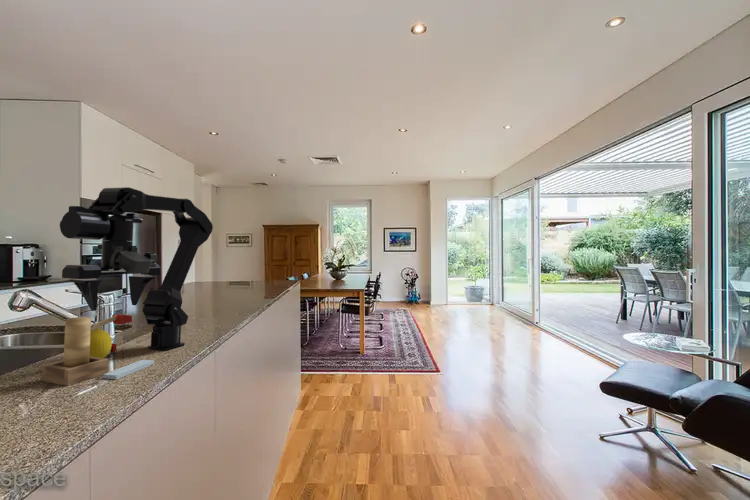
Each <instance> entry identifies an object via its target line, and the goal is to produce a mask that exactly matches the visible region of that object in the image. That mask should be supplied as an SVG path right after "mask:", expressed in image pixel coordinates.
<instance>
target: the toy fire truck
mask: <svg viewBox="0 0 750 500" xmlns="http://www.w3.org/2000/svg"><path fill="white" fill-rule="evenodd" d="M112 322H113V324H116V325H117V324H118V325H125V324H129V323H132V322H133V316H132V315H129V314H120V313H119V314H118V313H114V314H112V316H111V317H108V318H105V319H102V320H100V321H98V322H94V323H91V330H90V332H92V331H94V330H95V329H100V330H103V331H105V330H104V328H103V326H105V325H107V324H111V323H112ZM116 352H117V343H112V347H111V350H110V352H109V354H108V355H107V356H110V355H111V354H112V353H116Z"/></svg>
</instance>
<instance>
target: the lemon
mask: <svg viewBox="0 0 750 500" xmlns="http://www.w3.org/2000/svg"><path fill="white" fill-rule="evenodd" d="M103 330H104V329H103ZM103 330H100V329H95V330H94V331H92V332H90V356H92V357H98V358H105V359H106V358H107V356H109V355H108V354H109V352H110V350H111V347H112V342H113V341H112V337H111V335H110V334H109V332H108V331H106V330H104V331H103Z"/></svg>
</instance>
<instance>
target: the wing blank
mask: <svg viewBox="0 0 750 500" xmlns="http://www.w3.org/2000/svg"><path fill="white" fill-rule="evenodd" d="M154 364H155V360H153V359H151V360H150V359H141V360H138V361H136V362H132V363H130V364H128V365H125V366H123V367H119V368H116V369H115V370H111V371H108V373H106V374H103V375H102V379H106V380H107V379H108V380H118V379H121V378H123V377H125V376H128V375H131V374H133V373H135V372H138V371H140V370H143V369H145V368H147V367H150V366H152V365H154Z"/></svg>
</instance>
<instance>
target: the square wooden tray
mask: <svg viewBox="0 0 750 500" xmlns="http://www.w3.org/2000/svg"><path fill="white" fill-rule="evenodd" d="M41 366H42V367H41V381H42V382H45V383H52V384H55V385H61V386H68V387H69V386H71V385H75V384H78V383H82V382H85V381H87V380H91V379H94V378H97V377H100V376H103V374H106V373H109V358H106V357H105V358H98V357H92V356H90V357H89V363H87V364H84V365H80V366H76V367H73V368H67V367H64V359H63V360H60V361H56V362H52V363H47V364H43V365H41Z"/></svg>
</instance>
